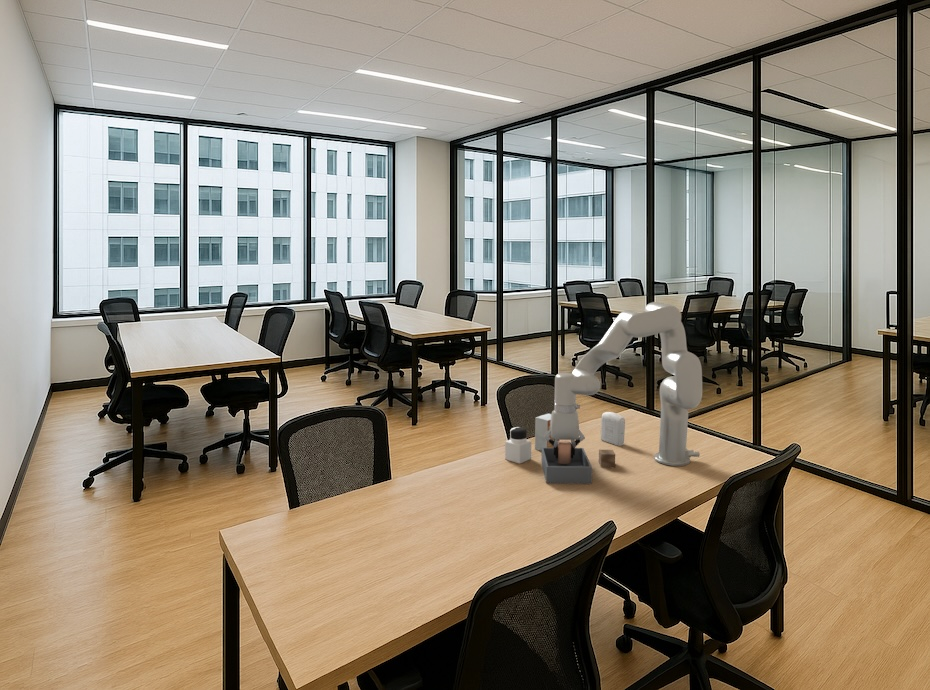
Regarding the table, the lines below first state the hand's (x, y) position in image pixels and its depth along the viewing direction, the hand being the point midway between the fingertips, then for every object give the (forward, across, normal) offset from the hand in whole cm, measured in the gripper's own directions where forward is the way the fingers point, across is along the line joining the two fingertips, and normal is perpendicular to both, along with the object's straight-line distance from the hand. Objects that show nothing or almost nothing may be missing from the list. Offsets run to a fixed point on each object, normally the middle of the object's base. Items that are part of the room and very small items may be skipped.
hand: (564, 456), depth 218 cm
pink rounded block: (+2, 0, 0) cm, 2 cm away
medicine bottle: (+4, +16, -8) cm, 19 cm away
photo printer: (+4, -23, -28) cm, 36 cm away
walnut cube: (+4, -16, -3) cm, 17 cm away
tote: (+4, 0, +5) cm, 7 cm away
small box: (+4, +4, -20) cm, 21 cm away
